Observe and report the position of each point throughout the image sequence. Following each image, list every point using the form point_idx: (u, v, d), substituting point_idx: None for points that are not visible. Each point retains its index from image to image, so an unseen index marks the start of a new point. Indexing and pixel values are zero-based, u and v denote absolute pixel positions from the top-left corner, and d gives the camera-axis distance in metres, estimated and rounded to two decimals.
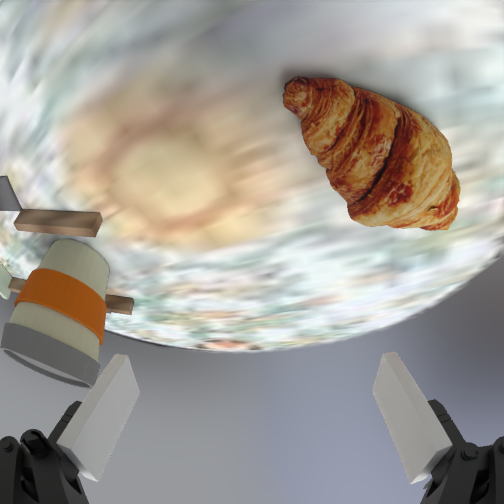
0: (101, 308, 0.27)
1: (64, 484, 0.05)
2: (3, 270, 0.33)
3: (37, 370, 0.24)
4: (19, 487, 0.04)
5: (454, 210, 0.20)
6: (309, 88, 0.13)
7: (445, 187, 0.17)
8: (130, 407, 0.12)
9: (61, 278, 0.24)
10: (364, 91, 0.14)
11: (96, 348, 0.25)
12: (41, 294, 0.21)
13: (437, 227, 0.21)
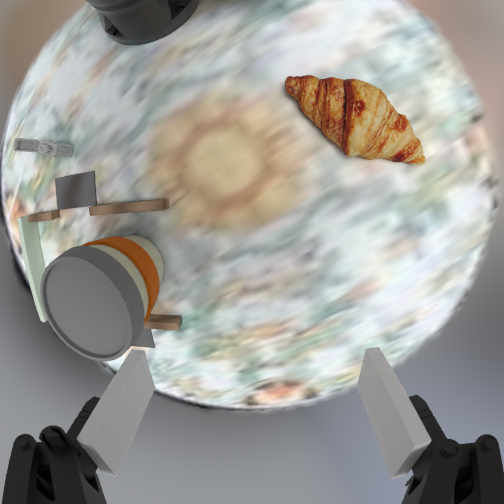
0: (156, 277, 0.32)
1: (83, 482, 0.05)
2: None
3: (65, 339, 0.25)
4: (34, 486, 0.04)
5: (416, 139, 0.29)
6: (296, 78, 0.28)
7: (393, 114, 0.27)
8: (146, 402, 0.12)
9: (126, 239, 0.31)
10: None
11: (145, 302, 0.28)
12: (106, 240, 0.28)
13: (410, 150, 0.29)
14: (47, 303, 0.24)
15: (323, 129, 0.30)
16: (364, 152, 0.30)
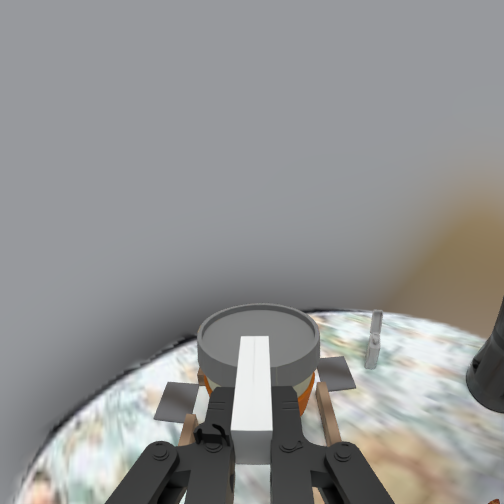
0: None
1: (227, 486, 0.06)
2: None
3: (223, 312, 0.31)
4: (154, 502, 0.05)
5: None
6: None
7: None
8: None
9: (306, 404, 0.27)
10: None
11: None
12: None
13: None
14: (261, 309, 0.32)
15: None
16: None
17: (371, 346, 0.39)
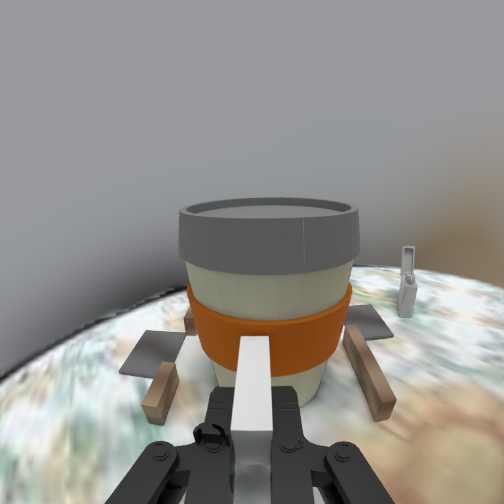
0: (281, 363, 0.16)
1: (227, 486, 0.06)
2: None
3: (220, 202, 0.23)
4: (154, 502, 0.05)
5: None
6: None
7: None
8: None
9: None
10: None
11: (263, 299, 0.15)
12: None
13: None
14: (271, 203, 0.24)
15: None
16: None
17: (406, 285, 0.31)
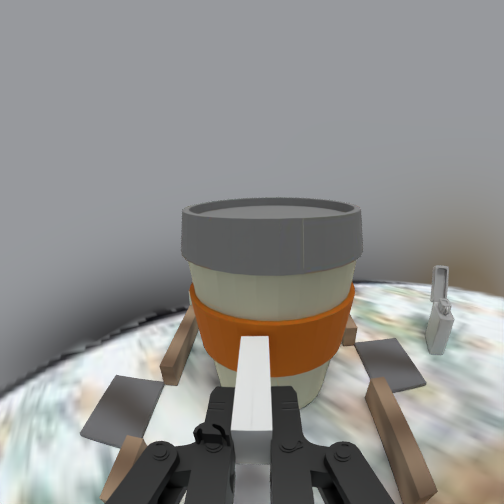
0: (281, 364, 0.16)
1: (227, 486, 0.06)
2: None
3: (224, 202, 0.23)
4: (154, 502, 0.05)
5: None
6: None
7: None
8: None
9: (342, 337, 0.19)
10: None
11: (263, 299, 0.15)
12: None
13: None
14: (276, 204, 0.24)
15: None
16: None
17: (441, 317, 0.22)
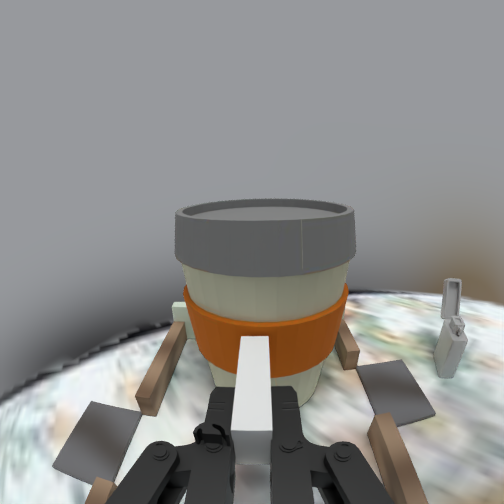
0: (280, 364, 0.16)
1: (227, 486, 0.06)
2: None
3: (215, 204, 0.23)
4: (154, 502, 0.05)
5: None
6: None
7: None
8: None
9: None
10: None
11: (262, 301, 0.15)
12: None
13: None
14: (266, 205, 0.24)
15: None
16: None
17: (454, 338, 0.19)
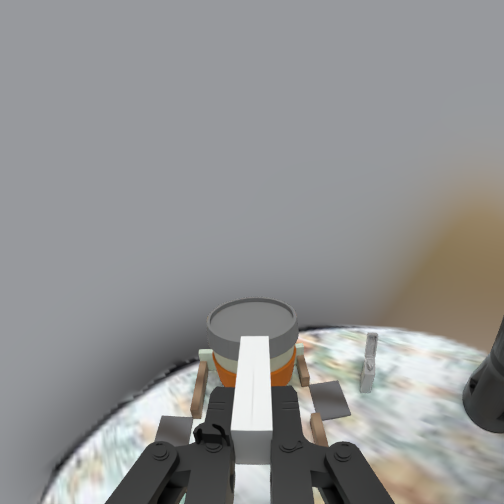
0: None
1: (227, 486, 0.06)
2: None
3: (223, 305, 0.40)
4: (154, 502, 0.05)
5: None
6: None
7: None
8: None
9: None
10: None
11: None
12: None
13: None
14: (252, 301, 0.42)
15: None
16: None
17: (366, 372, 0.37)
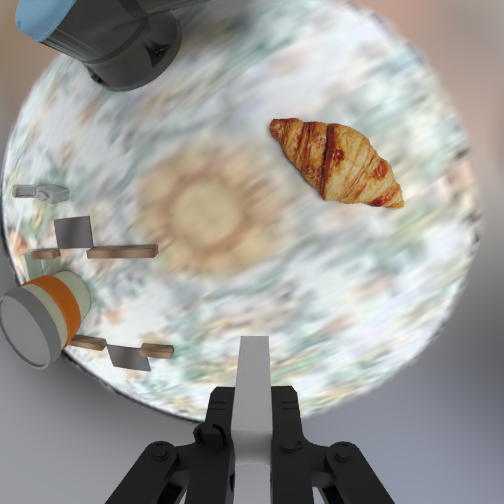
0: (74, 307, 0.35)
1: (227, 486, 0.06)
2: None
3: (16, 352, 0.29)
4: (154, 502, 0.05)
5: (396, 184, 0.33)
6: (280, 121, 0.31)
7: (374, 161, 0.31)
8: None
9: (53, 278, 0.35)
10: (309, 122, 0.32)
11: (62, 327, 0.31)
12: (37, 280, 0.32)
13: (388, 197, 0.32)
14: (2, 326, 0.28)
15: (303, 174, 0.33)
16: (341, 198, 0.33)
17: (50, 201, 0.33)
